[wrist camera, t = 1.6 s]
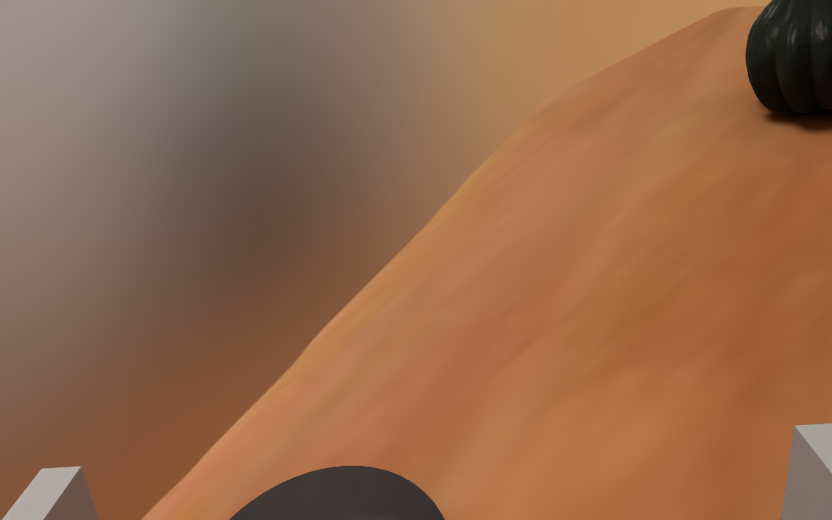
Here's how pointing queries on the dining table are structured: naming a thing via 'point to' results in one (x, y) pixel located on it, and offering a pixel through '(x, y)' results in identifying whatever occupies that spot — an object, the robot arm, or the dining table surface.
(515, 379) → the dining table surface
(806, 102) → the squash
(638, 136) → the dining table surface
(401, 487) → the disc
